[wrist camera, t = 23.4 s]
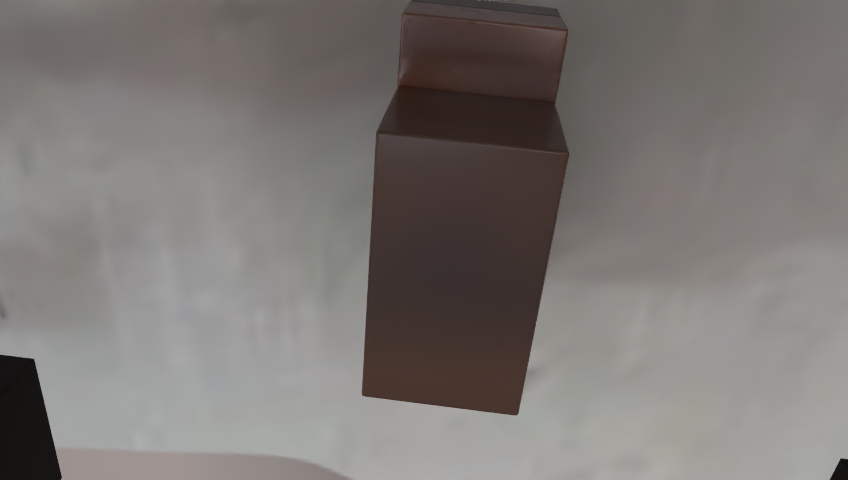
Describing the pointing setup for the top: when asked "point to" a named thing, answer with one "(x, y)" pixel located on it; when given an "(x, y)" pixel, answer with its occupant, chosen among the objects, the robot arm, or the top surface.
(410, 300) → the brown stepped block
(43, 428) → the robot arm
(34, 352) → the top surface
